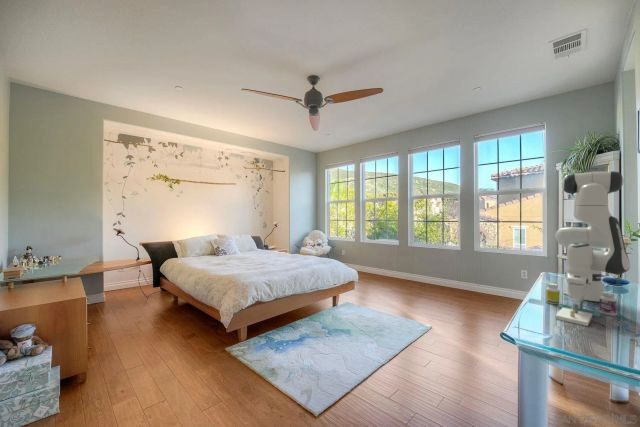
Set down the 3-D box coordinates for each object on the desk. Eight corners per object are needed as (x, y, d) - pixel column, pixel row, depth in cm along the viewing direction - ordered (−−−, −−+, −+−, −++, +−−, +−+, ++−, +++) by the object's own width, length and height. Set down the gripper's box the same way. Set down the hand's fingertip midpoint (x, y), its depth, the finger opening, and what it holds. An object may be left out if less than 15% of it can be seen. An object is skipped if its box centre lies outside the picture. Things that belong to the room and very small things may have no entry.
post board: (562, 310, 127) (562, 300, 127) (592, 317, 119) (592, 305, 119) (555, 318, 117) (555, 307, 117) (587, 326, 109) (587, 314, 109)
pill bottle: (599, 313, 124) (600, 292, 124) (598, 310, 128) (599, 290, 128) (617, 316, 120) (617, 295, 120) (615, 313, 124) (615, 293, 124)
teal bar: (558, 308, 130) (558, 299, 130) (560, 306, 133) (560, 297, 134) (599, 317, 119) (599, 307, 120) (600, 314, 123) (600, 305, 123)
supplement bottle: (562, 305, 135) (562, 285, 135) (549, 304, 136) (550, 285, 136) (555, 301, 141) (555, 283, 141) (543, 300, 142) (543, 282, 142)
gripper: (573, 273, 136) (573, 300, 136) (566, 279, 123) (565, 309, 123) (591, 275, 131) (590, 303, 131) (585, 281, 118) (585, 313, 118)
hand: (578, 306), depth 126 cm, fingers closed on teal bar, 5 cm apart
